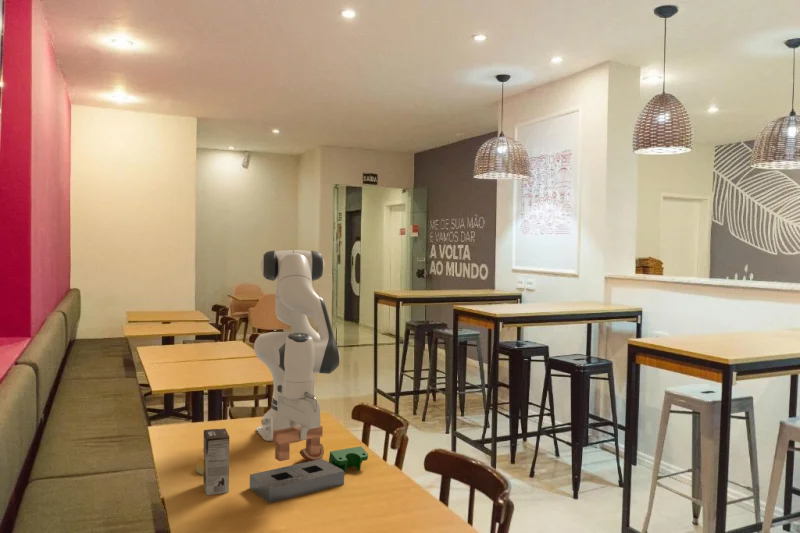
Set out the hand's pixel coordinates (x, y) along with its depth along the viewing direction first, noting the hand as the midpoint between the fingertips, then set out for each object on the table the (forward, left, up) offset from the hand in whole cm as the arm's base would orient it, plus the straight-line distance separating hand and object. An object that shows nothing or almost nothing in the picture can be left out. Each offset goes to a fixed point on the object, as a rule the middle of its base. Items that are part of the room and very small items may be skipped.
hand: (298, 436), depth 176 cm
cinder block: (0, 0, -15) cm, 15 cm away
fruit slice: (-17, +14, -15) cm, 27 cm away
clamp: (-4, +20, -15) cm, 25 cm away
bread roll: (-27, -16, -15) cm, 35 cm away
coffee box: (-12, -20, -15) cm, 28 cm away
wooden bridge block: (0, 0, -6) cm, 6 cm away
